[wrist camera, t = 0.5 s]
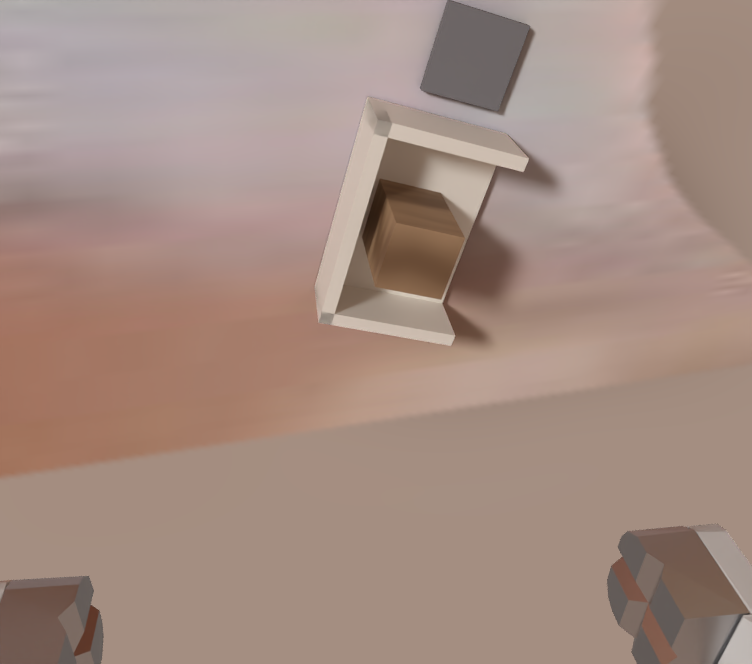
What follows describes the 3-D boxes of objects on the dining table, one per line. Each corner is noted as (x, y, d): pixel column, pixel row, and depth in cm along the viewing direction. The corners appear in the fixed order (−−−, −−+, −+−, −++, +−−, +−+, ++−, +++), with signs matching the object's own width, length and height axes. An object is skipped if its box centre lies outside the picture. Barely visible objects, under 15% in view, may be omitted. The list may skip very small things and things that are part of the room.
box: (367, 96, 49) (377, 119, 45) (506, 133, 52) (529, 158, 48) (314, 286, 57) (318, 322, 53) (437, 310, 60) (451, 345, 56)
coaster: (447, -1, 46) (449, 0, 46) (527, 24, 48) (530, 26, 47) (419, 88, 49) (421, 90, 49) (495, 109, 51) (497, 111, 50)
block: (379, 178, 52) (396, 222, 46) (440, 192, 54) (465, 238, 47) (362, 236, 55) (374, 286, 48) (420, 249, 56) (441, 299, 49)
